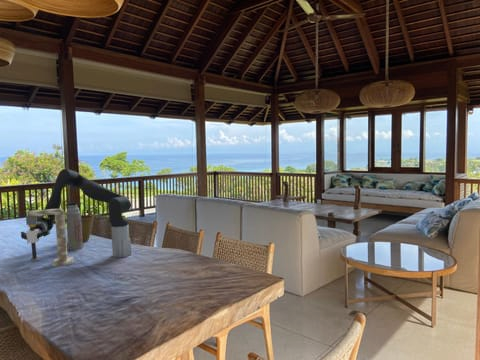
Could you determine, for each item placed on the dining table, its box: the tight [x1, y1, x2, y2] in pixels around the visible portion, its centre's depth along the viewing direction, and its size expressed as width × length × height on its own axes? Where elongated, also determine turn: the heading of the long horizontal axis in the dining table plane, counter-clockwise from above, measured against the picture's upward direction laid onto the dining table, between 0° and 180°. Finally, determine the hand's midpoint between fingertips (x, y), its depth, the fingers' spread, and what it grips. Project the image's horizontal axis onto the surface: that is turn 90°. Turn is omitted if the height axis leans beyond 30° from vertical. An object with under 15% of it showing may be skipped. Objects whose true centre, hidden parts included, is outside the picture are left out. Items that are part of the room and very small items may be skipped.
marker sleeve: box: [25, 229, 40, 244], centre depth 172 cm, size 5×5×6 cm
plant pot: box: [81, 214, 94, 243], centre depth 219 cm, size 15×15×16 cm
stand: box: [27, 207, 74, 267], centre depth 175 cm, size 18×9×29 cm, turn 112°
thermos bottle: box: [65, 202, 84, 251], centre depth 202 cm, size 8×8×28 cm
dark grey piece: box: [25, 215, 40, 263], centre depth 172 cm, size 4×4×24 cm
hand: (31, 237), depth 169 cm, fingers closed on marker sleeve, 4 cm apart
